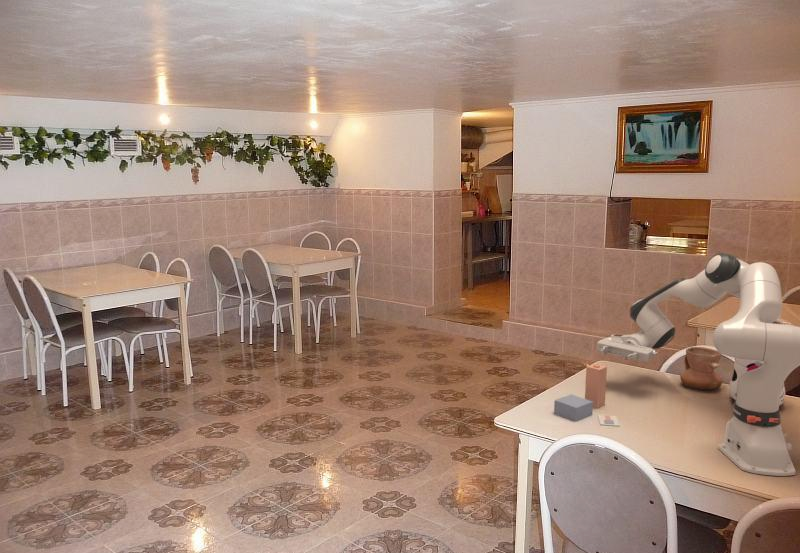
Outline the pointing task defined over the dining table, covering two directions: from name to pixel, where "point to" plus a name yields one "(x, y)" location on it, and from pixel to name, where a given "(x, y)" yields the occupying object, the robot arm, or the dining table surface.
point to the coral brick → (596, 384)
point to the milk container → (740, 369)
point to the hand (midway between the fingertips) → (614, 355)
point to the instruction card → (608, 420)
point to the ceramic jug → (701, 368)
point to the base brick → (573, 407)
